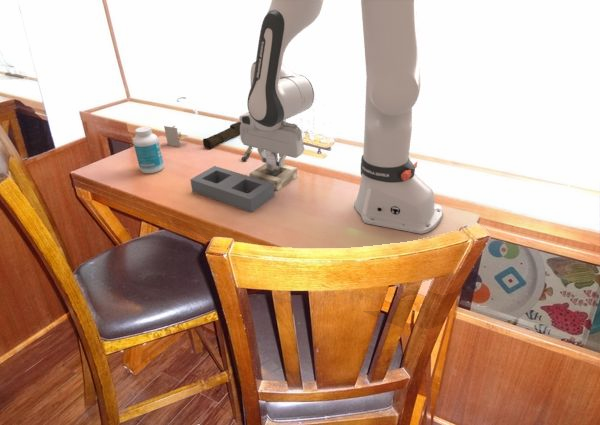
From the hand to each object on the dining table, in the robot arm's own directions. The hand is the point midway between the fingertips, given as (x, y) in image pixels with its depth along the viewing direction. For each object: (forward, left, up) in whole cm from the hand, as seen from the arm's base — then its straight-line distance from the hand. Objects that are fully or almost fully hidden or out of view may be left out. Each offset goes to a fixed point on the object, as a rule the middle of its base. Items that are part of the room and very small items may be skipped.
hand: (272, 164), depth 128 cm
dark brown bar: (+34, -16, -6) cm, 38 cm away
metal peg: (0, 0, -5) cm, 5 cm away
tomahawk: (+22, -14, -6) cm, 26 cm away
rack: (+5, +13, -5) cm, 15 cm away
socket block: (0, 0, -5) cm, 5 cm away
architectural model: (+46, -4, -6) cm, 47 cm away
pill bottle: (+38, +14, -5) cm, 41 cm away
